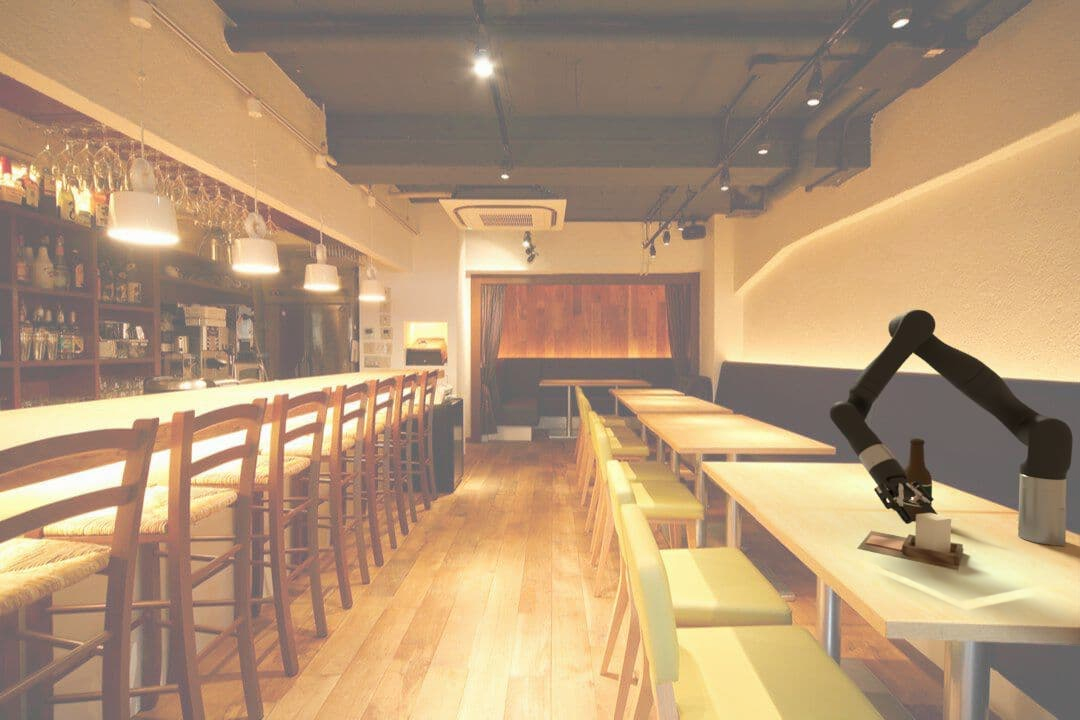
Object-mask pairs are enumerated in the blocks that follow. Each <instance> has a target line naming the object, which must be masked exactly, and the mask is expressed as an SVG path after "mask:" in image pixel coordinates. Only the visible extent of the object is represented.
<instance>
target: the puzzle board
mask: <svg viewBox="0 0 1080 720" xmlns="http://www.w3.org/2000/svg"><path fill="white" fill-rule="evenodd" d="M963 546H964V545H963V544H961V543H957V542H951V544H950V554H948V553H943V552H938V551H933V550H928V549H923V548H918V547H915V535H914V534H911V533H909V534H908V535H907V537H905V536H899V535H894V534H890V533H885V532H878V531H874V530H871V531H869V533H868V534H867V536H866V537H865V538H864V539H863V540H862V541H861V543H860V544H859V545H858V546H857V548H856V549H858V550H861V551H866V552H870V553H871V552H872V553H876V554H881V555H885V556H889V557H893V558H899V559H904V560H907V561H911V562H918V563H921V564H927V565H933V566H935V567H941V568H945V569H950V570H953V571H959V568H960V563H961V560H962V556H963V552H964V548H963Z"/></svg>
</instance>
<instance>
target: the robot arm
mask: <svg viewBox="0 0 1080 720" xmlns="http://www.w3.org/2000/svg"><path fill="white" fill-rule="evenodd" d="M935 330H936V320H935V318H934V316H933V315H932V314H931V313H930V312H928V311H926V310H923V309H911V310H909V311H905V312H902V313H900V314H899V315H896V316H895V317H893V318H892V319H891V320H890V321H889V323H888V333H889V336H890V337H891V339H890V341H889V342H888V343H887V345H885V346H886V347H884V348H883V350H882V351H881V352H880V353H879V354H877V356H876V357H875V358H874V359H873V360H872V361H871V362H870V363H868V364H867V366H866V367H865V368H864V369H863V370H862V372H861V373H860V374H859V376H858V377H857V378H856V379H855V381H854V382H853V384H852V385H851V386H850V388H849V390H848V391H849V392H848V395H849V396H848V399H847V400H846V401H837V402H835V403H833V404H832V405H831V407H830V409H829V417H830V420H831V421H832V422H833V424H834V425H835V427H836V428H837V429H838V430H839V432H841V434H842V435H843V436H844V437H845V439H846V440H847V441H848V443H849V445H850V447H851V449H852V450H853V451H854V453H855V455H856V456H857V457H858V458H859V460H860V462H861V463H862V465H863V467H864V468H865V470H866V471H867V472H868V474H869V475H870V477H871V478H872V480H873V481H874V483H876V485H877V486H875V488H874V489H873V490H874V492H875V494H876V495H877V496H878V498H879V499H880V501H881V503H882V504H883V506H884V507H885V509H887V510H892V511H895V512H896V513H897V515H898V516H899V517H900V519H901V520H902V521H903V522H904V524H906V525H909V524H911V523H913V522H915V521H914V519H913V517H912V516H911V515H910V513H909V512H908V510H907V509H906V508H905V506H904V507H902V506H903V500H905V501H910V502H911V503H915V504H917V505H918V506H920V507H921V509H922V510H923V512H924V513H934V514H937V515H939V514H938V512H936V510H935V509H934V507H933V506H931V505H930V502H933V501H934V497H933V495H932V496H931V495H930V494H929V493H928V492H927V490H926V489H925V488H924V487H923V486H922V484H921V483H920V482H919V481H917V480H916V481H915V482H913V483H910V482H909V481H908V480H907V479H906V471H905V470H904V469H905V468H904V467H903V466H902V465H901V464H900V462H899V461H898V460H897V458H896V457H895V456H894V454H893V453H892V451H890V450H889V449H888V447H886V445H885V444H884V443H883V441H881V439H880V438H879V436H878V435H877V434H876V433H875V432H874V431H873V430H872V429H871V428H870V427H869V425H868V424H867V423H866V419H867V417H868V415H869V412H870V410H871V408H872V406H873V403H874V402H875V401H876V400H877V398H878V397H880V394H881V393H882V392H883V390H884V389H885V388H886V386H887V385H888V384H889V382H890V381H891V380H892V379H893V377H894V376H895V375H896V373H898V371H899V369H901V367H902V365H903V364H904V363H905V362H906V361H907V360H908V359H909V358H910V356H912V355H913V354H914V355H915V356H917V357H918V358H920V359H921V360H922V361H924V362H925V363H926V364H927V365H929V367H930V368H932V369H933V370H934V371H935V372H936V373H938V374H939V375H940V376H942V378H943V379H945V380H947V381H948V382H949V384H951V385H952V386H953V387H954V388H955V389H957V391H959V392H960V393H962V394H963V395H964V396H965V397H967V398H968V399H969V400H971V401H972V402H974V403H975V404H976V405H978V406H979V407H980V408H982V409H983V410H985V411H986V412H988V413H990V414H991V415H992V416H993V417H995V418H996V419H997V420H998V421H999V422H1000V423H1001V424H1002V425H1003V426H1004V427H1005V428H1006V429H1007V430H1008V431H1009V432H1010V433H1011V434H1012V436H1013V435H1014V437H1015V438H1016V439H1017V440H1018V441H1019V442H1020V443H1021V444H1023V445H1024V446H1026V447H1027V457H1026V459H1025V461H1023V462H1021V463H1020V465H1019V486H1018V487H1019V488H1018V490H1019V491H1018V493H1019V496H1018V527H1017V536H1018V537H1019V538H1021V539H1024V540H1026V541H1029V542H1033V543H1037V544H1041V545H1048V546H1049V544H1050V546H1061V545H1062V547H1066V532H1067V508H1066V504H1067V503H1066V502H1067V501H1066V500H1067V474H1068V472H1069V470H1070V468H1071V464H1072V457H1073V455H1072V454H1073V441H1074V438H1073V433H1072V430H1071V428H1070V426H1069V425H1068V424H1067V423H1066V422H1064V421H1063V420H1061V419H1058V418H1054V417H1049V416H1046V415H1043V414H1041V413H1039V412H1037V411H1035V409H1032V408H1030V407H1029V406H1028V405H1026V404H1025V403H1024V402H1022V401H1021V400H1020V399H1019V398H1017V397H1016V395H1014V393H1013V392H1012V390H1011V389H1010V387H1009V386H1008V384H1007V383H1006V381H1004V380H1003V378H1001V376H1000V375H999V374H998V373H997V372H995V370H993V369H991V368H990V367H989V366H988V365H986V364H985V363H984V362H983V361H982V360H980V359H978V358H976V357H974V356H972V355H971V354H969V353H966V352H965V351H963V350H960V349H958V348H956V347H953V346H951V345H949V344H947V343H945V342H944V341H942V340H941V339H940V338H939V337H937V336H936V335H935V334H934V332H935ZM914 494H916V496H914ZM923 494H924V495H925V496H926V497H927V498H925V497H924V496H923ZM918 499H920V500H921V502H920V501H918ZM887 500H888V501H887Z"/></svg>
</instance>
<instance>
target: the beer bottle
mask: <svg viewBox="0 0 1080 720" xmlns="http://www.w3.org/2000/svg"><path fill="white" fill-rule="evenodd" d="M909 443H910V447H909V448H910V449H909V456H908V463H907V465H906V466H905V468H903V469H904V470H905V471H906V479H907V480H908V481H909V482H910V483H913V482H915V481H916V480H917V481H919V482H920V483H921V484H922V486H923V487H924V488H925V489H926V490H927V492H928V493H929V494H930V495H931V496H932V497H933V480H932V478H933V477H932V476H931V473H930V471H929V470H928V468H927V467H926V462H925V449H924V444H925V440H924V439H922V438H910V439H909ZM914 496H916V494H914ZM923 496H924V497H925V498H927V497H926V496H925V495H924V494H923ZM918 501H920V502H921V500H920V499H918ZM932 502H933V501H932ZM932 502H930V505H931V506H932V505H933V504H932ZM904 506H905V508H906V509H907V510H908V512H909V513H910V515H911V516H912V517H913V519H914V521H913V522H916V514H923V513H924V512H923V510H922V509H921V507H920V506H918V505H917V504H915V503H911V502H910V501H905V500H903V506H902V507H904ZM932 507H933V506H932Z"/></svg>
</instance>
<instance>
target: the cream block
mask: <svg viewBox="0 0 1080 720" xmlns="http://www.w3.org/2000/svg"><path fill="white" fill-rule="evenodd" d="M937 514H938V513H937ZM937 514H934V513H923V514H916V521H915V532H914V534H915V547H918V548H923V549H928V550H933V551H938V552H943V553H948V554H950V544H951V540H952V538H951V537H952V518H950V517H947V516H945V515H944V516H943V515H940V514H938V515H937Z"/></svg>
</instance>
